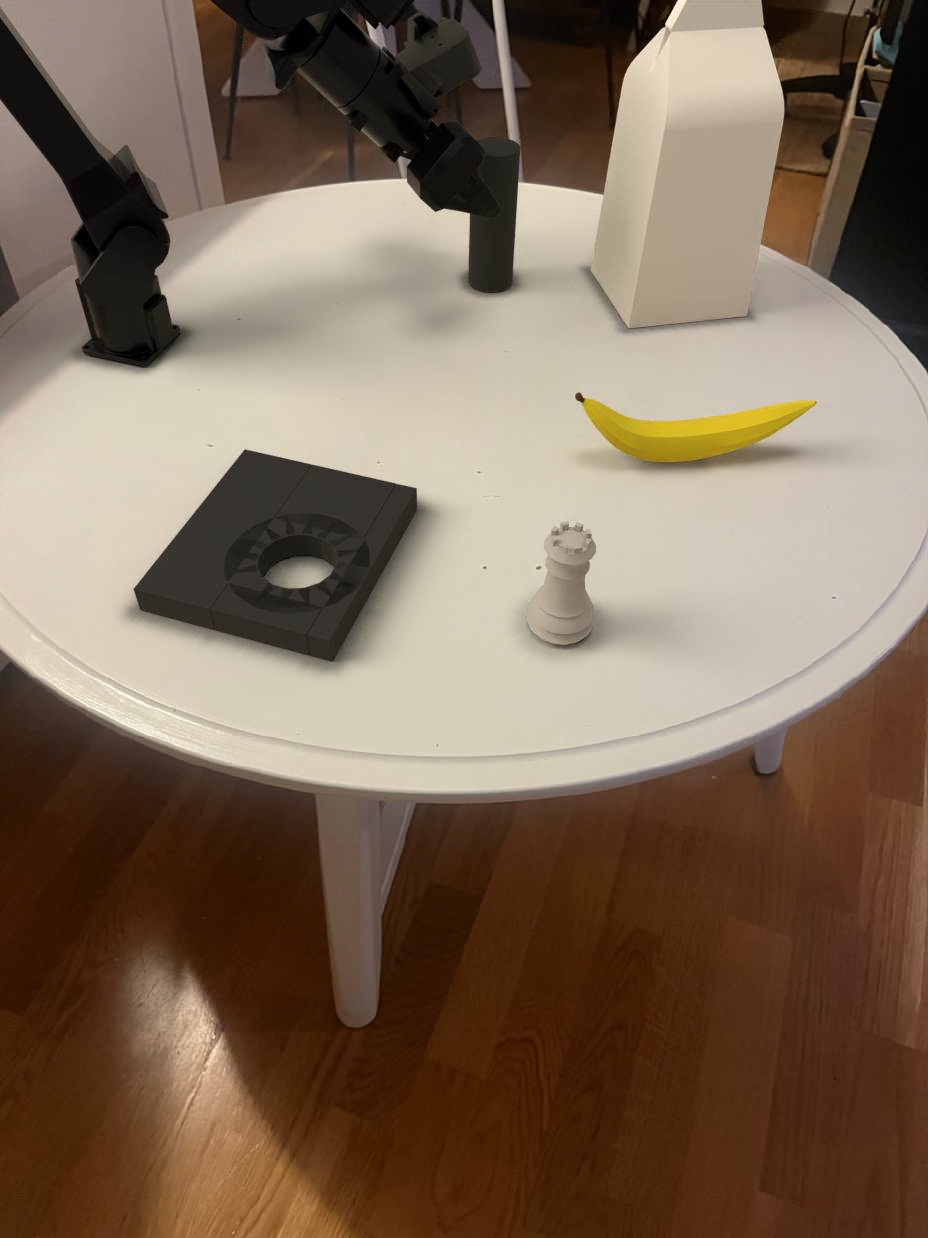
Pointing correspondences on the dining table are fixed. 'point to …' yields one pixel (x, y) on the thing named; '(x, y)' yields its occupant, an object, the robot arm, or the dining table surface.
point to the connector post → (496, 235)
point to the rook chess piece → (564, 587)
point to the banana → (690, 431)
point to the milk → (691, 168)
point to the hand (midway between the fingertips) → (478, 192)
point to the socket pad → (279, 552)
